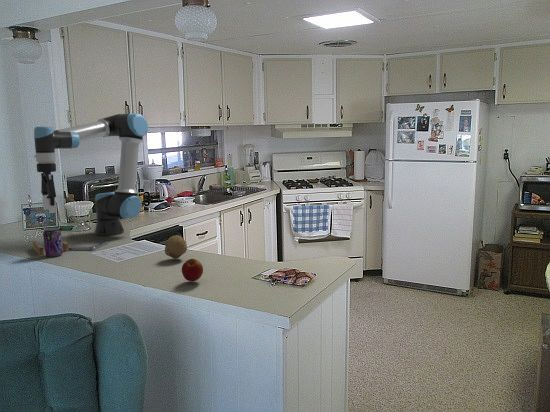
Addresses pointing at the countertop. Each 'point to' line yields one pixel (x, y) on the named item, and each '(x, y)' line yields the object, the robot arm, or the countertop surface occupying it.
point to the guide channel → (39, 248)
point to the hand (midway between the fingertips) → (49, 211)
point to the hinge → (88, 247)
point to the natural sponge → (175, 247)
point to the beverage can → (53, 242)
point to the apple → (192, 270)
